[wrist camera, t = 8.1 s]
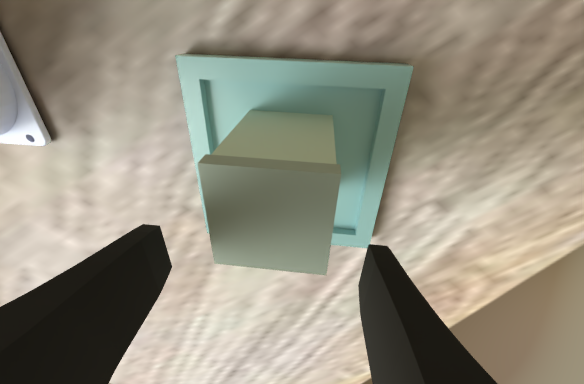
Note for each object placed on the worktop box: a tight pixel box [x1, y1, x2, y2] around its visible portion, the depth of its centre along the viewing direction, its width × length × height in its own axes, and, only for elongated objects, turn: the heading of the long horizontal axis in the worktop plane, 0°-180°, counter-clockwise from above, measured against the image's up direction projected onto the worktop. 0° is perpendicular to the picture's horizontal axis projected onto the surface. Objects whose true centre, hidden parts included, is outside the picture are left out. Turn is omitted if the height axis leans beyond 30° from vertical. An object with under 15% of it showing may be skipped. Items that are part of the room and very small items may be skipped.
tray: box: [175, 54, 414, 248], centre depth 16 cm, size 11×11×1 cm
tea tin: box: [197, 110, 341, 275], centre depth 13 cm, size 5×5×7 cm
